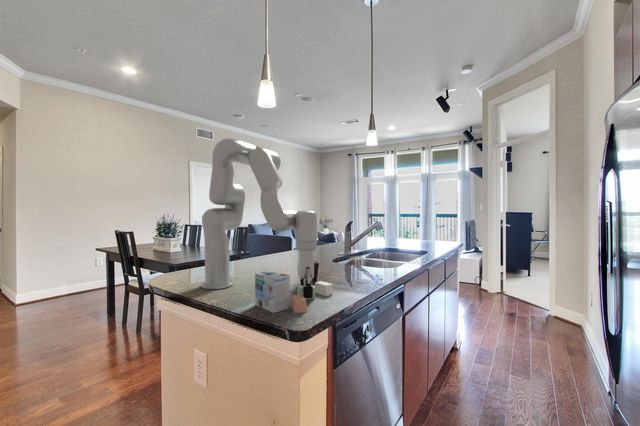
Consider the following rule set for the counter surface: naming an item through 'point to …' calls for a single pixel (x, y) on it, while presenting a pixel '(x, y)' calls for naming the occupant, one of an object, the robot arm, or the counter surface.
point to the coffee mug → (316, 266)
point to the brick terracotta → (298, 303)
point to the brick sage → (300, 291)
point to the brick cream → (324, 288)
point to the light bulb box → (272, 291)
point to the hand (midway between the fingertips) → (306, 294)
